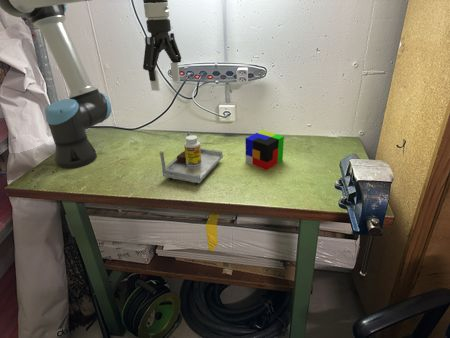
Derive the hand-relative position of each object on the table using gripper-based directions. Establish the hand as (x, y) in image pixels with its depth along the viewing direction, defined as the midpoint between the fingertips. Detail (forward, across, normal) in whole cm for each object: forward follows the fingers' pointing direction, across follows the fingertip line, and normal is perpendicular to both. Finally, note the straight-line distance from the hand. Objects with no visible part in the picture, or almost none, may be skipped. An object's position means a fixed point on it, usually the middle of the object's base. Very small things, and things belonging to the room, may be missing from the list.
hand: (166, 85), depth 107 cm
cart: (+29, -7, -12) cm, 32 cm away
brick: (+28, -3, -7) cm, 29 cm away
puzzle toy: (+29, +8, -34) cm, 45 cm away
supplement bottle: (+26, -7, -12) cm, 29 cm away
